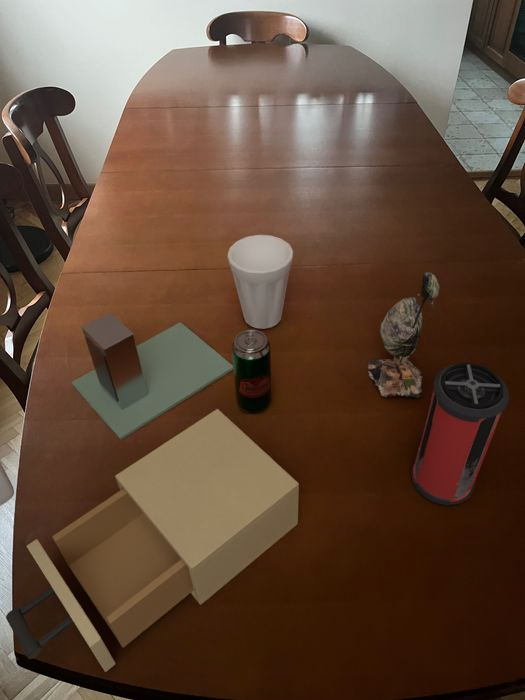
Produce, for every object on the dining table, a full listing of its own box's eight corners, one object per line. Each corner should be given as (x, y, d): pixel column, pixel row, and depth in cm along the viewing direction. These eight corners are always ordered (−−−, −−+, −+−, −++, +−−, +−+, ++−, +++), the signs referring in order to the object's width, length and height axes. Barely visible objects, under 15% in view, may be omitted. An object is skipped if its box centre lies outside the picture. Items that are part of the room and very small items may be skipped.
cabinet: (200, 605, 64) (191, 568, 58) (129, 515, 72) (114, 475, 66) (298, 523, 71) (299, 483, 65) (222, 450, 79) (217, 408, 73)
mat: (120, 440, 80) (119, 437, 80) (71, 384, 88) (70, 382, 88) (234, 369, 90) (234, 366, 89) (180, 324, 97) (180, 321, 97)
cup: (296, 336, 95) (297, 269, 86) (233, 340, 94) (228, 274, 85) (289, 297, 102) (289, 232, 93) (231, 300, 101) (226, 236, 92)
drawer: (60, 709, 56) (40, 686, 52) (2, 604, 64) (-20, 576, 59) (213, 583, 65) (207, 554, 60) (146, 504, 72) (136, 472, 67)
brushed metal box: (121, 410, 84) (103, 350, 75) (99, 387, 87) (80, 327, 79) (148, 394, 86) (133, 333, 77) (126, 372, 89) (110, 311, 81)
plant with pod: (421, 350, 91) (445, 241, 78) (423, 405, 83) (450, 294, 70) (368, 345, 93) (382, 236, 79) (365, 399, 85) (380, 288, 71)
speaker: (408, 453, 78) (431, 355, 65) (468, 457, 77) (503, 359, 64) (413, 504, 72) (439, 408, 60) (477, 509, 71) (518, 413, 59)
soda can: (240, 418, 83) (234, 357, 74) (233, 391, 86) (228, 331, 78) (275, 411, 83) (274, 350, 75) (267, 385, 87) (265, 325, 79)
